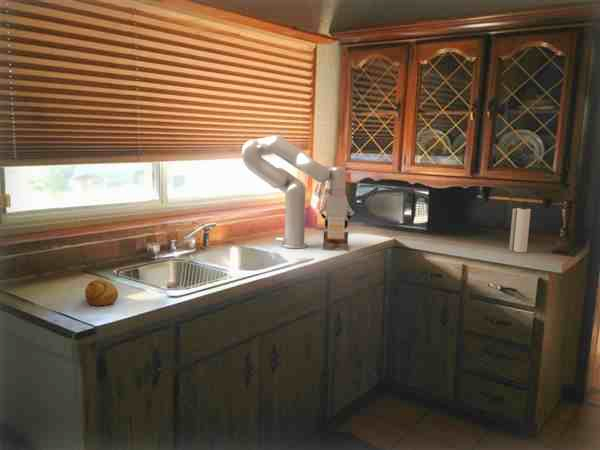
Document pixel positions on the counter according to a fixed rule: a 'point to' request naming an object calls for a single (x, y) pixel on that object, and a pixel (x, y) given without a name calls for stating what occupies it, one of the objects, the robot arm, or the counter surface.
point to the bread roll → (100, 292)
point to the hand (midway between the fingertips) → (336, 228)
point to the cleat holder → (335, 242)
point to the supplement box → (336, 227)
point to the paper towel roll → (519, 230)
